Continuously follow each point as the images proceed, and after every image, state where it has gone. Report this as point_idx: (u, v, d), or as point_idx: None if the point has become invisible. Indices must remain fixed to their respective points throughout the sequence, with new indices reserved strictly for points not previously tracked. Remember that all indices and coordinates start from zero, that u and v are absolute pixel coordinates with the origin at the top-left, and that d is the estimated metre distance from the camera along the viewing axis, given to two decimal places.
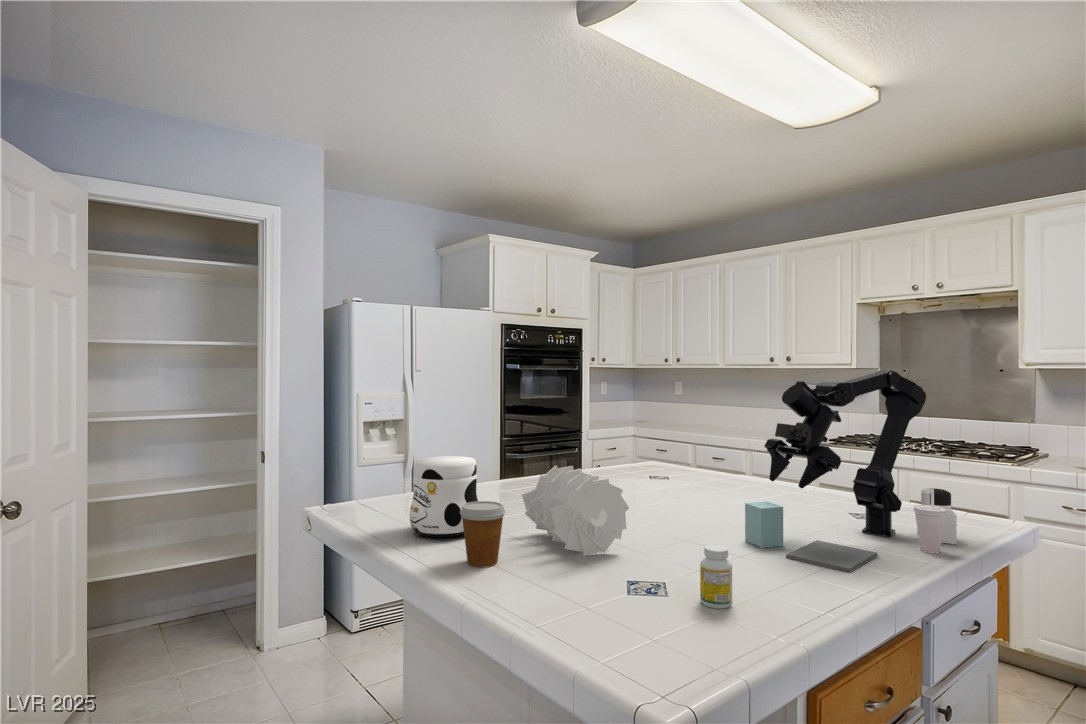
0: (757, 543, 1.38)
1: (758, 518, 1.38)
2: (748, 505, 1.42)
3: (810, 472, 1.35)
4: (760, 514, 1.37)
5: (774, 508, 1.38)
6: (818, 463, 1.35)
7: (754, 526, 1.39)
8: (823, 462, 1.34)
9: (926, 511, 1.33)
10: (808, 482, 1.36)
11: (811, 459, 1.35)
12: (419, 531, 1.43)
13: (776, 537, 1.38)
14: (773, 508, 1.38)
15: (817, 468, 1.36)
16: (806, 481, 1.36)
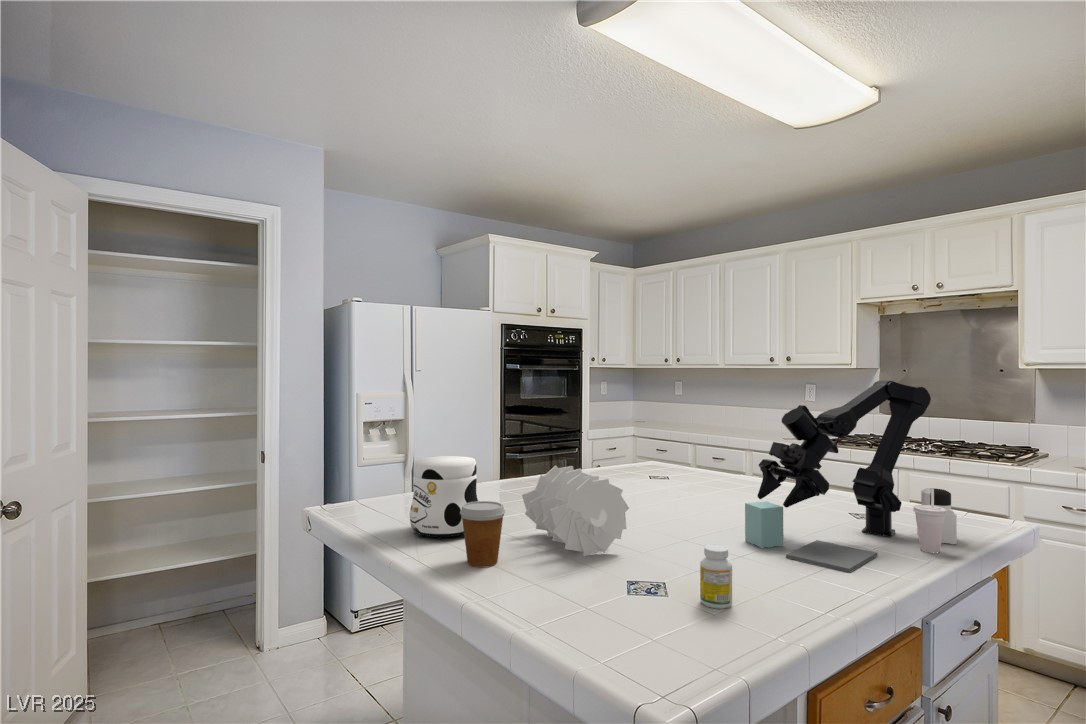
0: (757, 543, 1.38)
1: (758, 518, 1.38)
2: (748, 505, 1.42)
3: (796, 493, 1.37)
4: (760, 514, 1.37)
5: (774, 508, 1.38)
6: (806, 485, 1.37)
7: (754, 526, 1.39)
8: (811, 485, 1.35)
9: (926, 511, 1.33)
10: (793, 502, 1.37)
11: (799, 479, 1.36)
12: (419, 531, 1.43)
13: (776, 537, 1.38)
14: (773, 508, 1.38)
15: (804, 491, 1.37)
16: (792, 501, 1.37)
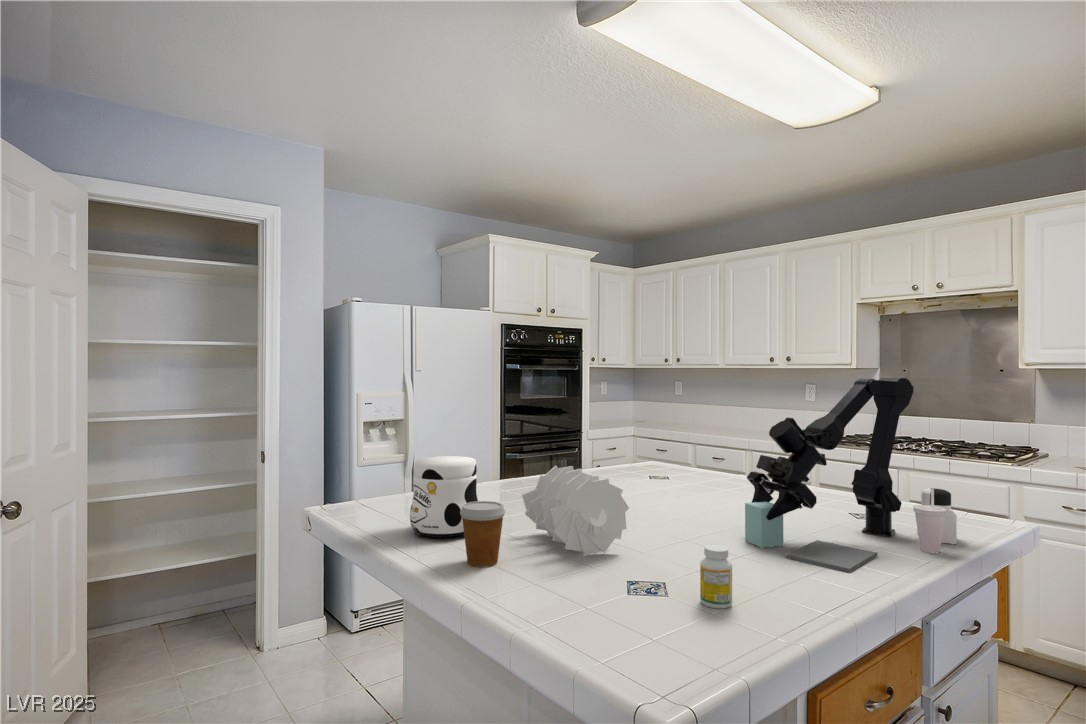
0: (757, 543, 1.38)
1: (758, 518, 1.38)
2: (748, 505, 1.42)
3: (780, 505, 1.37)
4: (760, 514, 1.37)
5: None
6: (789, 498, 1.37)
7: (754, 525, 1.39)
8: (793, 497, 1.36)
9: (926, 511, 1.33)
10: (776, 515, 1.37)
11: (782, 492, 1.37)
12: (419, 531, 1.43)
13: (776, 537, 1.38)
14: None
15: (787, 503, 1.38)
16: (775, 514, 1.37)
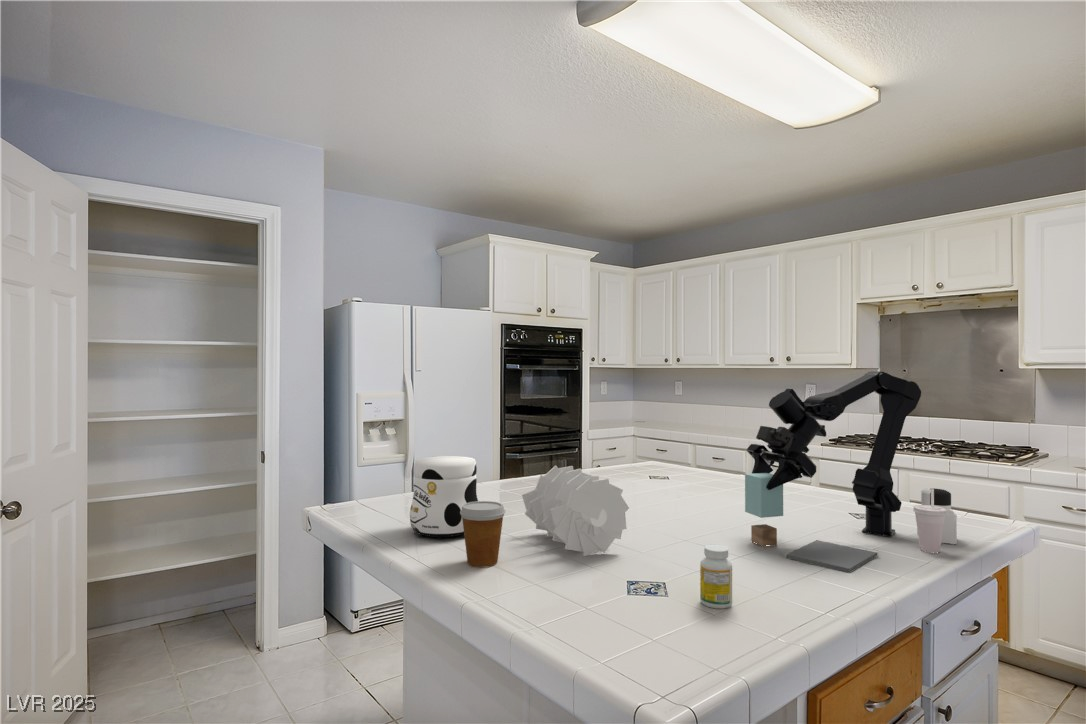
0: (757, 513, 1.38)
1: (758, 488, 1.38)
2: (748, 476, 1.42)
3: (779, 475, 1.37)
4: (760, 484, 1.38)
5: None
6: (789, 467, 1.37)
7: (754, 496, 1.40)
8: (793, 467, 1.36)
9: (926, 511, 1.33)
10: (776, 485, 1.37)
11: (782, 462, 1.37)
12: (419, 531, 1.43)
13: (776, 506, 1.38)
14: None
15: (787, 473, 1.38)
16: (775, 484, 1.37)
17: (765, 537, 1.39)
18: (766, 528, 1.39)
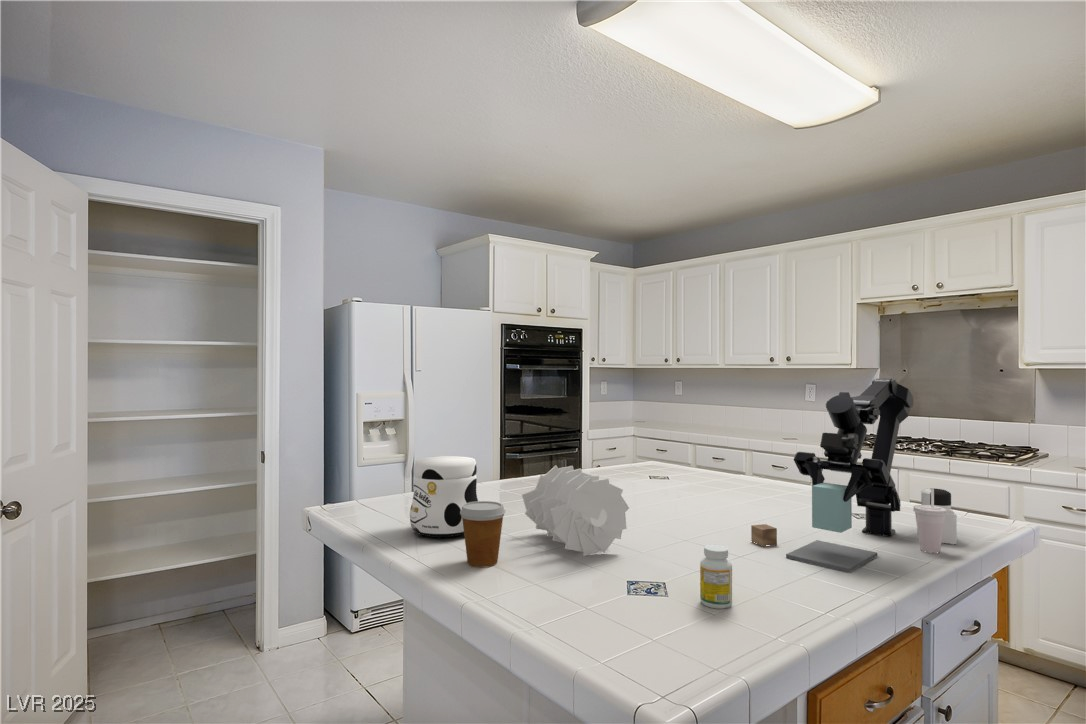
0: (834, 528, 1.27)
1: (835, 501, 1.27)
2: (818, 488, 1.30)
3: (854, 485, 1.28)
4: (839, 496, 1.27)
5: None
6: (862, 476, 1.29)
7: (829, 509, 1.28)
8: (869, 475, 1.28)
9: (926, 511, 1.33)
10: (851, 495, 1.28)
11: (857, 470, 1.28)
12: (419, 531, 1.43)
13: (848, 519, 1.29)
14: None
15: (858, 482, 1.30)
16: (850, 494, 1.28)
17: (765, 537, 1.39)
18: (766, 528, 1.39)
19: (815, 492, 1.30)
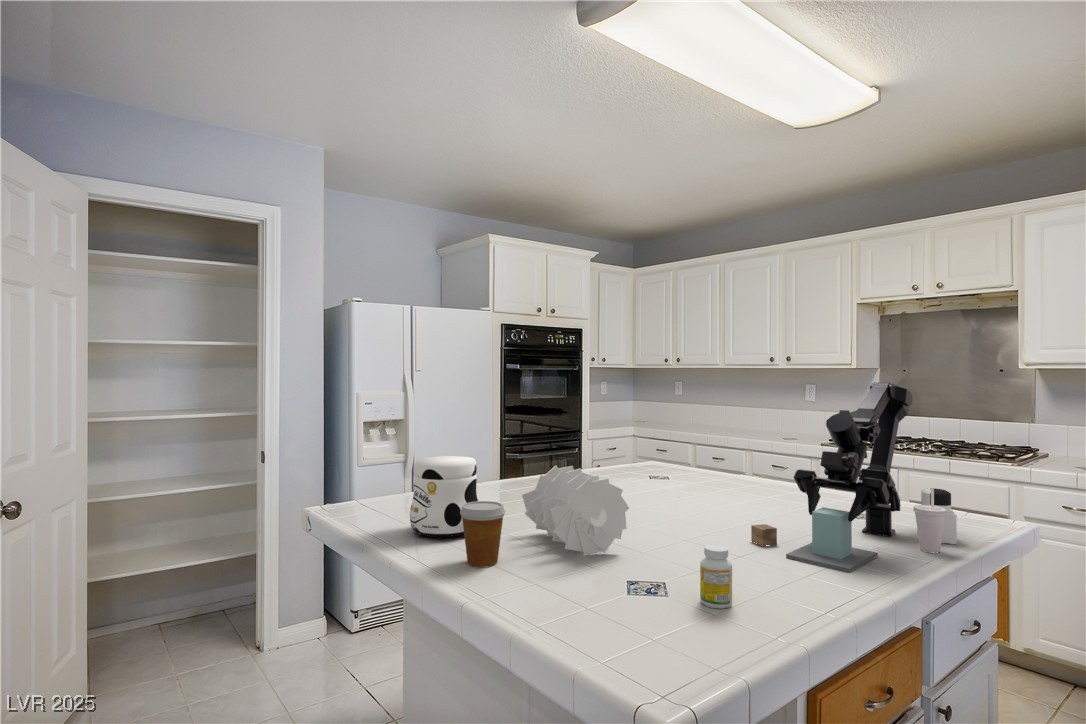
0: (834, 554, 1.27)
1: (836, 527, 1.27)
2: (818, 514, 1.30)
3: (859, 505, 1.28)
4: (839, 523, 1.27)
5: (847, 514, 1.29)
6: (866, 496, 1.28)
7: (829, 536, 1.28)
8: (873, 495, 1.27)
9: (926, 511, 1.33)
10: (856, 516, 1.28)
11: (862, 490, 1.27)
12: (419, 531, 1.43)
13: (848, 545, 1.29)
14: (846, 514, 1.29)
15: (863, 502, 1.29)
16: (855, 514, 1.27)
17: (765, 537, 1.39)
18: (766, 528, 1.39)
19: (815, 518, 1.30)
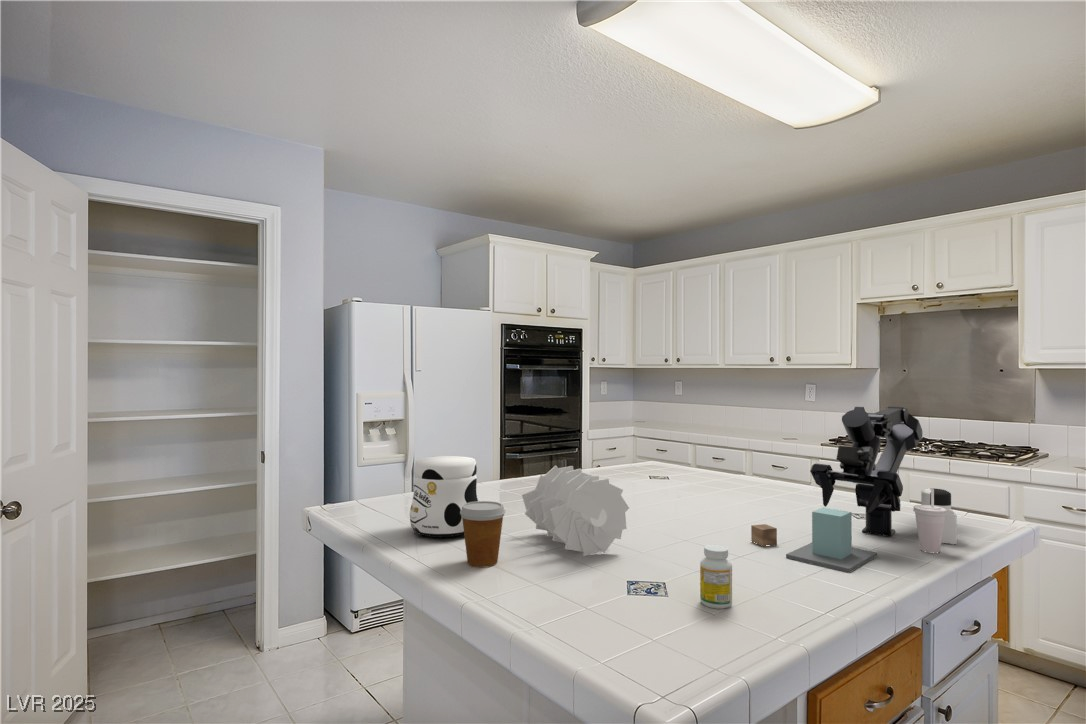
0: (834, 554, 1.27)
1: (836, 527, 1.27)
2: (818, 514, 1.30)
3: (877, 497, 1.33)
4: (839, 523, 1.27)
5: (847, 514, 1.29)
6: (883, 489, 1.34)
7: (829, 536, 1.28)
8: (890, 488, 1.33)
9: (926, 511, 1.33)
10: (873, 507, 1.33)
11: (879, 483, 1.33)
12: (419, 531, 1.43)
13: (848, 545, 1.29)
14: (846, 514, 1.29)
15: (880, 494, 1.35)
16: (873, 506, 1.33)
17: (765, 537, 1.39)
18: (766, 528, 1.39)
19: (815, 518, 1.30)
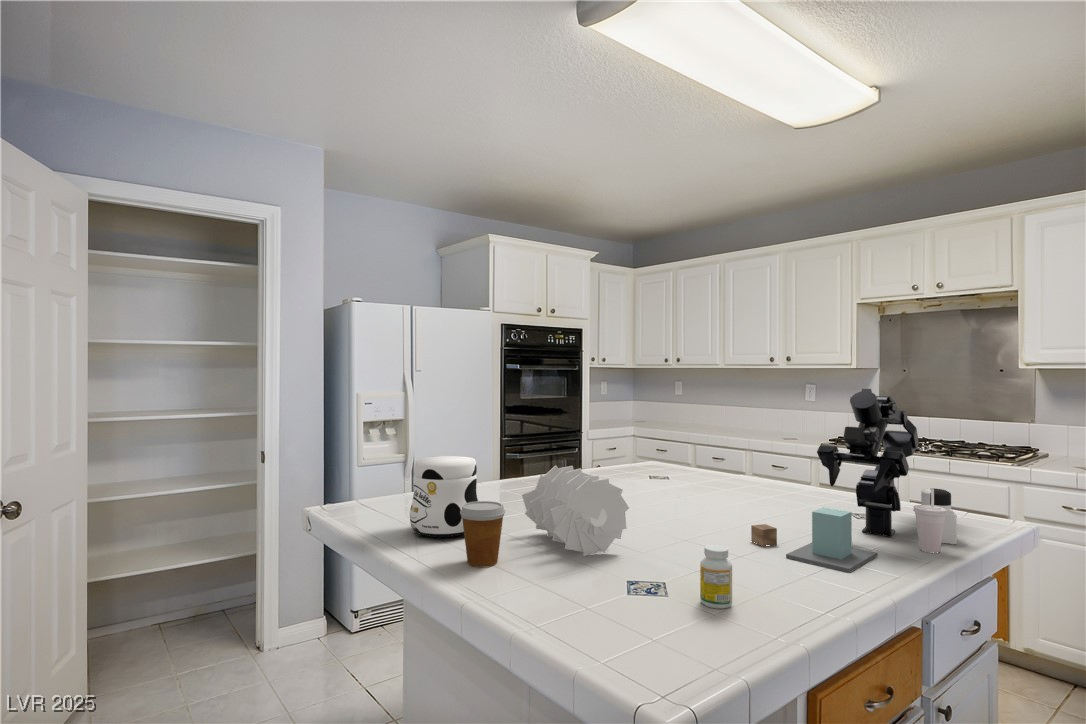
0: (834, 554, 1.27)
1: (836, 527, 1.27)
2: (818, 514, 1.30)
3: (883, 476, 1.35)
4: (839, 523, 1.27)
5: (847, 514, 1.29)
6: (889, 468, 1.36)
7: (829, 536, 1.28)
8: (896, 467, 1.35)
9: (926, 511, 1.33)
10: (880, 486, 1.35)
11: (885, 463, 1.35)
12: (419, 531, 1.43)
13: (848, 545, 1.29)
14: (846, 514, 1.29)
15: (886, 474, 1.37)
16: (879, 485, 1.35)
17: (765, 537, 1.39)
18: (766, 528, 1.39)
19: (815, 518, 1.30)
